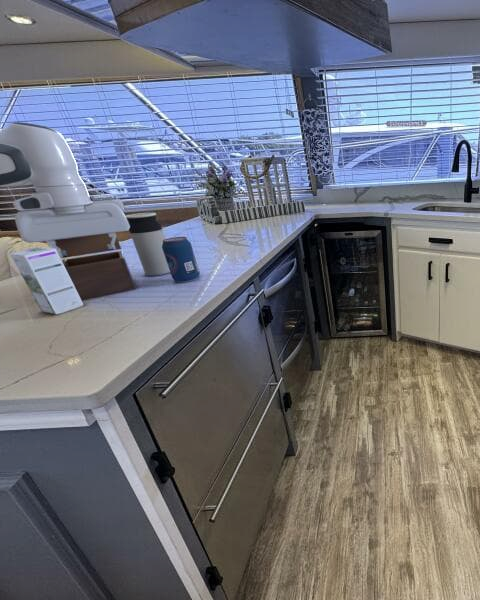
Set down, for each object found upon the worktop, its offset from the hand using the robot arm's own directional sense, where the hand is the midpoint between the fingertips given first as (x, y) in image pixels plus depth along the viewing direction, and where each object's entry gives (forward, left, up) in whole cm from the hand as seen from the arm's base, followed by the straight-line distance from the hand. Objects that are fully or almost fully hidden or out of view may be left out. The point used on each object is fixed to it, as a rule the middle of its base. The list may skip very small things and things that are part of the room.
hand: (89, 253), depth 84 cm
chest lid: (0, +7, +5) cm, 9 cm away
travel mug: (+14, +8, -11) cm, 19 cm away
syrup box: (-8, -9, -11) cm, 16 cm away
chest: (0, +1, -11) cm, 11 cm away
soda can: (+19, -7, -11) cm, 22 cm away
